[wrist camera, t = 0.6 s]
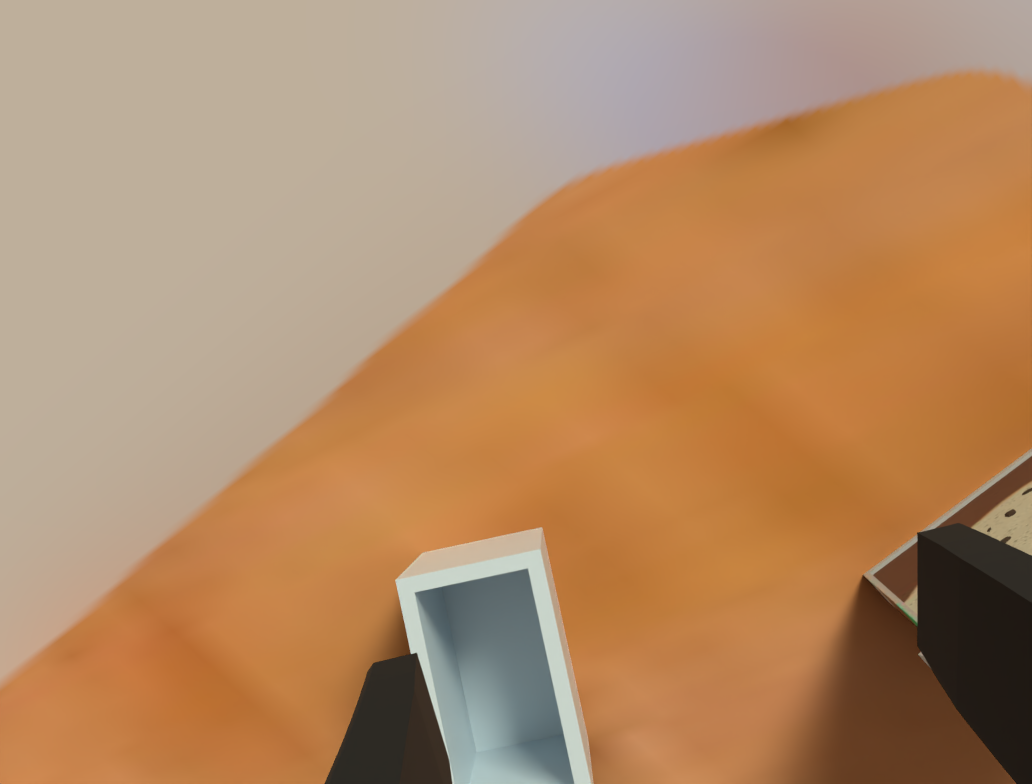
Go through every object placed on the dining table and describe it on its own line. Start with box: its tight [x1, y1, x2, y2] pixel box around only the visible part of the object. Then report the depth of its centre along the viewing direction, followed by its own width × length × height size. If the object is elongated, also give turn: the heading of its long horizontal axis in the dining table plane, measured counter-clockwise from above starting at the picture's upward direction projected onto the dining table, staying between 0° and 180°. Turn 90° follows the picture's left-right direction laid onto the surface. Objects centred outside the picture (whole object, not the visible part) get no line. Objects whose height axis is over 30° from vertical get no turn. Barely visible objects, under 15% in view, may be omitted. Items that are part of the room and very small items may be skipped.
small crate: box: [396, 527, 593, 784], centre depth 31 cm, size 8×5×6 cm, turn 12°
